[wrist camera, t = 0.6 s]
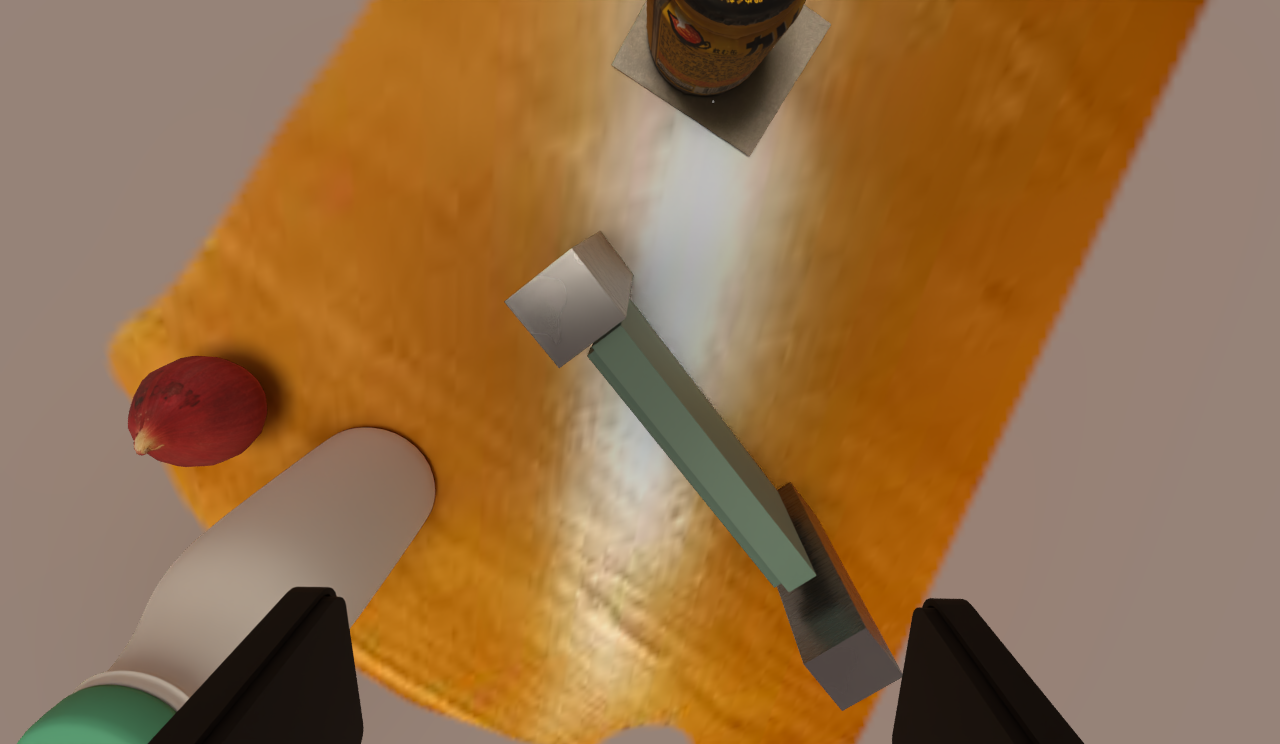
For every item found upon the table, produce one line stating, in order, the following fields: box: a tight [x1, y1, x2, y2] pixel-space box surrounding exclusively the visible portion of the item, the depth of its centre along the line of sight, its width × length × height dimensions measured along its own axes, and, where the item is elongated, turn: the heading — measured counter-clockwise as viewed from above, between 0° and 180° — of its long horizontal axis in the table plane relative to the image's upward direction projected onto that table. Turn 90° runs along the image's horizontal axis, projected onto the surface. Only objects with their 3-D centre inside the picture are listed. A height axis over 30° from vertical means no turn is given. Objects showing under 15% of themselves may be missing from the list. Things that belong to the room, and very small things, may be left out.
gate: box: [587, 298, 817, 592], centre depth 29 cm, size 14×2×8 cm, turn 37°
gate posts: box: [504, 231, 903, 711], centre depth 29 cm, size 3×22×13 cm, turn 37°
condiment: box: [612, 0, 831, 156], centre depth 24 cm, size 7×8×12 cm
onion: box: [128, 356, 267, 467], centre depth 31 cm, size 6×6×8 cm
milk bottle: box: [17, 427, 435, 744], centre depth 27 cm, size 8×8×20 cm
